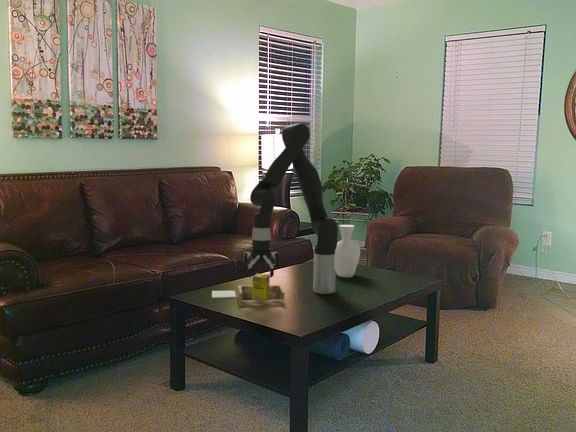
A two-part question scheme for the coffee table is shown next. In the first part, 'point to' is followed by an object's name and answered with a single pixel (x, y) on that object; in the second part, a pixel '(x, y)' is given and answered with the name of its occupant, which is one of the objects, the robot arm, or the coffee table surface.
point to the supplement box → (261, 287)
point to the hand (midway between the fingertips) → (260, 277)
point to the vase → (346, 253)
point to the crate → (273, 292)
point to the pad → (223, 294)
